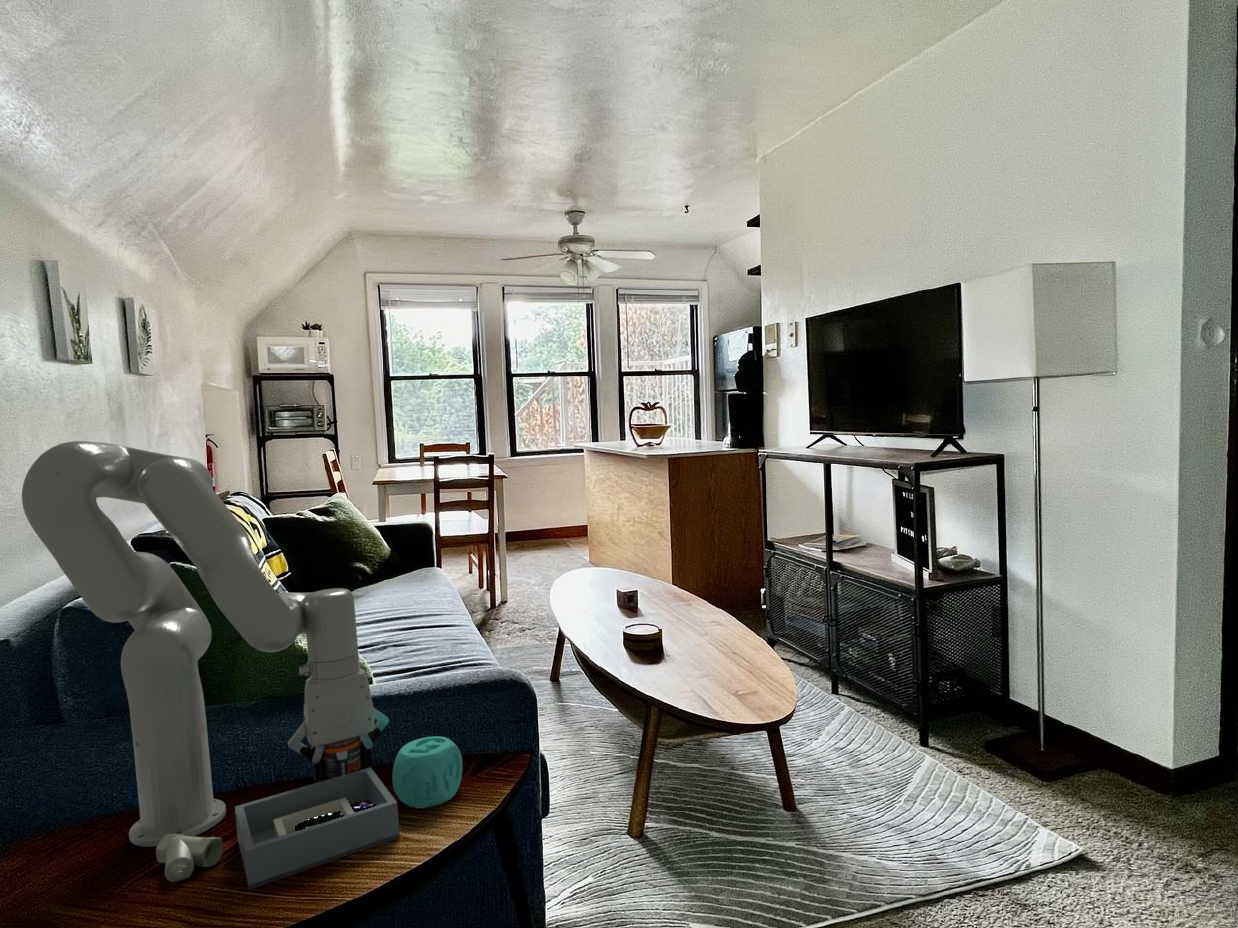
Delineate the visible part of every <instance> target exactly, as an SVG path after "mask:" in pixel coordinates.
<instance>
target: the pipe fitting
mask: <svg viewBox="0 0 1238 928" xmlns="http://www.w3.org/2000/svg"><path fill="white" fill-rule="evenodd" d="M224 850H225V849H224V842H223V838H222V837H215V836H211V837H202V836H201V837H200V836H194V837H192V836H185V835H183V834H167V835H165V836H164V837H163V838H162V839H161V841H160V842H159V844H158V846H156V848H155V855H156V856H155V857H156V861H157V862H158V863H163V864H165V865H164V876H165V878H166V880H167V881H169V882H171V883H176V882H179V881H184V880H185V879H189V878H190V877H191V875H192V874H193V872H194V869H195V867H200V868H209V867H214V866H216V865H217V863H218V862H219V861H220V859H221V858H222V857H223V854H224Z"/></svg>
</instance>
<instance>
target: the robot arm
mask: <svg viewBox="0 0 1238 928" xmlns="http://www.w3.org/2000/svg"><path fill="white" fill-rule="evenodd" d="M28 469H29V470H28V471H27V472H26V475H25V478H24V480H23V484H22V489H21V504H22V507H23V508H22V509H23V511H24V514H25V517H26V519H27V521H28V523H29V524H30V526H31V528H32V530H33V531H34V532H35V534H36V535H37V537H38V538H39V540H40V541H41V542H42V543H43V545H44V546H45V547H46V549H47V550H48V552H49V553H50V555H51V556H52V557H53V559H55V561H56V563H57V564H58V566H59V568H60V569H61V571H62V572H63V573H64V575H65V576H66V578H67V579H68V580H69V582H70V583H71V585H72V586H73V587H74V589H75V590H76V592H77V593H78V595H79V596H80V597H81V598H82V600H83V602H84V603H85V605H86V606H87V607H88V609H89V610H90V611H91V612H92V613H93V614H94V615H95V616H96V617H97V618H99V619H101V620H103V621H105V622H108V623H124V622H127V621H128V622H129V624H130V625H131V627H132V629H133V630H134V631H133V632H132V633H131V634H130V636H129V637H128V638H127V640H126V642H125V643H124V645H123V647H122V650H121V656H120V671H121V676H122V680H123V684H124V688H125V691H126V695H127V702H128V706H129V708H128V709H129V716H130V724H131V725H130V726H131V733H132V734H131V735H132V743H133V753H134V762H135V763H134V764H135V775H136V785H137V787H136V788H137V796H138V807H139V818H140V819H139V820H138V821H136V822H134V824H133V825H132V826H131V827H130V829H129V832H128V837H129V838H128V839H129V841H130V843H131V844H133V845H135V846H137V847H144V848H152V847H153V848H155V847H157V846H158V844H159V842H160V841H161V839H162V838H163V837H164V836H165V835H167V834H183V835H185V836H192V837H197V836H198V835H201V834H202V833H204V832H206V831H209V830H210V829H212V828H213V827H215V826H216V825H218V824H219V823H220V822H221V821H222V820H223V819H224V818H225V816H226V813H227V808H226V804H225V802H224V801H223V800H221V799H219V798H218V799H217V798H214V792H213V790H214V789H213V781H212V780H213V779H212V769H211V768H212V767H211V760H210V759H211V758H210V749H209V737H208V727H207V726H208V725H207V716H206V706H205V699H204V698H205V697H204V691H203V685H202V681H201V677H200V673H199V672H200V671H199V665H198V664H199V663H198V662H199V660H200V659H201V657H203V656H204V654H205V653H206V651H207V650H208V648H209V647H210V645H211V641H212V628H211V624H210V622H209V620H208V618H207V616H206V614H205V613H204V611H203V610H202V609H201V606H199V604H198V603H197V601H196V600H195V598H194V597H193V595H192V594H191V593H190V591H189V590H188V588H187V587H186V586H185V584H184V583H183V582H182V580H181V579H180V577H179V576H178V573H176V572H175V571H174V569H173V568H172V567H171V565H170V564H168V562H166V561H165V560H164V559H163V558H161V557H160V556H158V555H155V554H153V553H149V552H146V551H134V550H133V549H132V547H131V545H129V543H128V542H127V540H126V539H125V538H124V536H123V535H122V533H121V532H120V530H119V528H118V526H116V525H115V523H114V522H113V521H112V520H111V519H110V518H109V517H108V516H107V515H106V514H105V512H104V511H102V509H101V508H100V506H99V503H98V501H97V499H99V498H110V499H114V500H115V499H116V500H121V501H127V502H132V503H139V504H144V505H145V506H146V507H147V508H148V509H149V511H150V512H151V513H152V515H153V517H155V518H156V519H157V521H158V522H159V523H160V524H161V526H162V527H163V528H164V529H165V530H166V532H167V533H168V534H169V535H170V536H171V538H172V539H173V540H174V541H175V542H176V544H177V545H178V546H179V547H180V549H181V550H182V551H183V553H184V554H185V555H186V556H187V557H188V558H189V560H190V562H192V564H193V565H194V567H195V568H196V571H197V573H198V575H199V577H200V579H201V580H202V583H204V585H205V587H206V589H207V591H208V592H209V594H210V596H211V598H212V599H213V601H214V602H215V604H216V606H218V607H217V608H218V609H219V610H220V612H221V613H222V614H223V615H224V617H225V618H226V619H227V620H228V621H229V622H230V624H231V625H232V626H233V627H234V629H235V630H236V631H237V632H238V634H240V636H241V637H242V638H243V639H244V640H245V641H246V643H248V644H249V645H250V646H251V647H253V648H254V649H256V650H258V651H260V652H265V653H275V652H276V653H277V652H280V651H282V650H285V649H286V648H288V647H289V646H291V645H292V644H293V643H294V641H295V640H297V638H298V637H299V636H300V635H305V637H306V648H307V662H306V664H304V665H303V666H302V665H301V666H299V667H298V671H299V675H300V676H308V678H307V679H305V685H304V695H303V697H304V698H303V721H302V723H301V724H300V725H299V727H298V728H297V729H296V730H295V732H294V733H293V735H292V736H291V737H290V739H289V740H288V741H287V745H288V748H289V749H291V750H293V751H294V752H296V753H298V754H300V755H301V756H303V757H305V758H306V759H307V760H309V761H311V763H312V773H313V774H312V776H313V780H314V782H315V783H318V782H321V781H325V780H326V777H325V765H324V761H323V759H322V753H323V750H324V746H325V745H329V744H333V743H337V742H340V741H344V740H348V739H352V738H356V737H360V749H361V762H362V770H363V769H366V768H370V767H372V766H373V760H372V759H373V758H372V748H373V746H374V743H375V742H376V741H377V740H378V739H379V737H380V735H381V733H382V731H384V729H385V728H386V726H387V725H388V724H389V722H390V719H389V718H388V716H387V715H385V714H384V713H382V712H380V710H378V709H376V708H375V707H374V704H373V700H372V699H373V698H372V692H371V688H370V683H369V678H368V676H367V672H366V670H365V669H363V668H361V666H360V656H359V645H358V633H357V632H358V631H357V621H356V620H357V619H356V607H355V598H354V594H353V593H352V591H351V590H349V589H348V588H338V587H337V588H336V587H335V588H328V589H327V588H326V589H321V590H317V591H313V592H290V591H289V592H287V591H286V592H277V590H276V589H275V588H274V587H273V585H272V584H271V583H270V582H269V580H268V579H267V577H265V575H264V573H263V572H262V570H261V568H260V567H259V563H257V561H256V558H255V555H254V552H253V548H252V544H251V540H250V537H249V535H248V533H247V531H246V528H245V527H244V526H243V525H242V523H241V522H240V521H239V520H238V519H237V518H236V516H235V515H234V514H233V512H232V511H231V510H230V509H229V508H228V506H227V504H225V503H224V502H223V500H222V499H221V498H220V496H219V495H218V494H217V492H216V491H215V490H214V480H213V477H212V474H211V472H210V471H209V469H208V468H207V467H206V466H205V465H204V464H203V463H201V462H200V461H198V460H196V459H193V458H190V457H188V458H187V457H183V456H177V455H175V456H174V455H171V454H164V453H159V452H155V451H150V450H146V449H145V450H144V449H139V448H135V447H129V446H125V445H120V444H114V443H108V442H97V441H86V440H85V441H84V440H73V441H66V442H63V443H58V444H57V445H55V446H52V447H50V448H49V449H47V450H45V452H43V453H42V454H40V455H39V456H38V457H37V459H36V460H35V461H34V462H32V465H31V466H30V467H29V468H28ZM375 722H376V723H375ZM304 738H307V742H308V743H309V745H310V746H311V747H310V746H308V745H306V744H304V743H302V740H303V739H304Z"/></svg>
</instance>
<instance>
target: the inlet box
mask: <svg viewBox="0 0 1238 928" xmlns="http://www.w3.org/2000/svg"><path fill="white" fill-rule="evenodd" d="M390 792H391V791H389V790H388V788H387V787H386V786H385V785H384V783H383V782H382V780H381V779H380V778H379V776H378V775H377V774H376V773H375V771H374V770H373V769H372V766H369V768H366V769H363V770H360V771H356V772H353V773H349V774H346V775H342V776H339V777H335V778H332V779H328V780H325V781H321V782H318V781H317V782H315V783H312V784H308V785H305V786H301V787H298V788H295V789H291V790H288V791H284V792H281V793H278V794H274V795H270V796H267V797H263V798H260V799H256V800H253V801H249V802H246V803H242V804H239V805H236V806H234V812H235V823H236V833H237V842H238V847H239V850H240V855H241V860H242V865H243V869H244V873H245V877H246V878H245V879H246V882H247V886H248V890H249V891H250V890H253V889H256V888H259V887H261V886H264V885H267V884H269V883H273V882H276V881H278V880H282V879H285V878H287V877H290V876H293V875H295V874H296V875H297V874H299V873H302V872H304V871H307V870H310V869H313V868H316V867H319V866H322V865H325V864H328V863H330V862H331V863H332V862H334V861H336V860H335V859H337V860H339V859H338V858H340V857H342V856H345V855H349V854H351V855H353V854H352V853H354V854H356V853H355V852H357V853H359V852H358V851H360V850H363V851H365V850H364V849H366V850H368V849H367V848H369V849H371V848H370V847H372V848H374V846H375V847H377V846H381V845H384V844H386V843H388V842H392V841H394V840H398V839H400V838H401V834H400V823H399V811H398V810H399V808H398V802H397V800H396V799H395V798H394V795H392V794H391V793H390ZM364 800H365V801H366V800H369V801H370V802H372V803H373V804H375V805H376V806H374V807H371V808H368V809H365V810H361V811H358V812H354V811H353V809H352V807H351V806H350V804H354V803H355V802H361V801H364ZM338 811H341V812H342V813H343V815H344V816H343V817H339V818H336V819H333V820H330V821H327V822H324V823H321V824H317V825H314V826H311V827H308V828H305V829H302V830H298V831H295V826H297V825H298V824H299V823H302V822H304V821H306V820H308V819H310V818H313V817H317V816H321V815H324V814H327V813H334V812H338ZM376 845H377V846H376ZM360 852H361V851H360ZM349 856H350V855H349ZM340 859H341V858H340ZM333 860H334V861H333Z"/></svg>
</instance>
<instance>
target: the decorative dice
mask: <svg viewBox="0 0 1238 928" xmlns="http://www.w3.org/2000/svg"><path fill="white" fill-rule="evenodd" d="M393 763H394V764H393V767H392V773H391V774H392V780H391V781H392V782H391V783H392V787H393V791H394V793H395V794H396V796H397V798H398V799H399V800H400V801H401V802H402V803H403V804H404V805H405V806H407V805H408V806H407V807H409V806H410V807H409V808H412V807H430V806H435V805H438V804H441V805H443V804H445V803H447V802H449V801H450V800H452V799H453V797H454V796H455V795H457V792H458V790H459V787H460V785H461V781H462V775H463V756H462V753H461V750H460V748H459V747H458V746H457V744H455V743H454V741H452V740H451V739H449V738H447V737H445V736H440V735H439V736H437V735H434V736H426V737H425V736H424V737H421V738H418V739H414V740H412V741H409V742H407V743H406V744H404V745H403V746H402V747H401V748H400V750H398V752H397V755H396V757H395V760H394V762H393ZM448 800H449V801H448ZM446 801H447V802H446ZM444 802H445V803H444ZM442 803H443V804H442ZM438 806H439V805H438ZM435 807H436V806H435ZM430 808H431V807H430Z"/></svg>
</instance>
